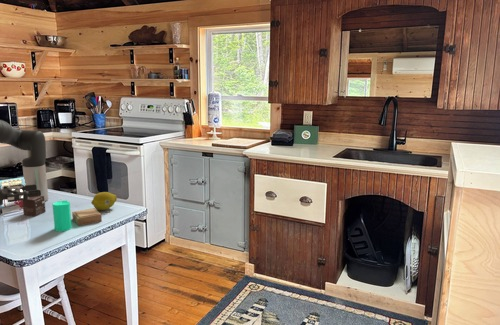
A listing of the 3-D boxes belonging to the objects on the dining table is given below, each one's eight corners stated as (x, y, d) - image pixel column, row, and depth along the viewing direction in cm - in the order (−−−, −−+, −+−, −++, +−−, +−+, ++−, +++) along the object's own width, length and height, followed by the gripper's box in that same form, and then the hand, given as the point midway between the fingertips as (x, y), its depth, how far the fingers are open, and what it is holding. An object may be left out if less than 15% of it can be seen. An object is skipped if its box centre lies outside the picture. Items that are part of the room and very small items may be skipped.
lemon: (92, 213, 164) (91, 196, 163) (90, 208, 171) (89, 191, 169) (118, 210, 169) (117, 193, 167) (116, 205, 176) (115, 188, 174)
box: (35, 216, 159) (34, 200, 158) (23, 215, 160) (21, 198, 159) (46, 211, 165) (44, 195, 164) (33, 210, 166) (32, 194, 165)
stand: (72, 218, 158) (72, 211, 157) (95, 214, 163) (94, 207, 163) (78, 225, 151) (77, 218, 150) (101, 221, 156) (101, 213, 156)
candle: (58, 232, 144) (56, 202, 141) (51, 228, 148) (49, 199, 145) (74, 228, 148) (72, 199, 146) (67, 224, 152) (65, 195, 150)
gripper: (-15, 191, 124) (41, 184, 134) (-18, 181, 135) (34, 175, 145) (-12, 212, 125) (43, 204, 135) (-16, 201, 136) (35, 194, 146)
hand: (38, 189), depth 140 cm, fingers open, 8 cm apart
